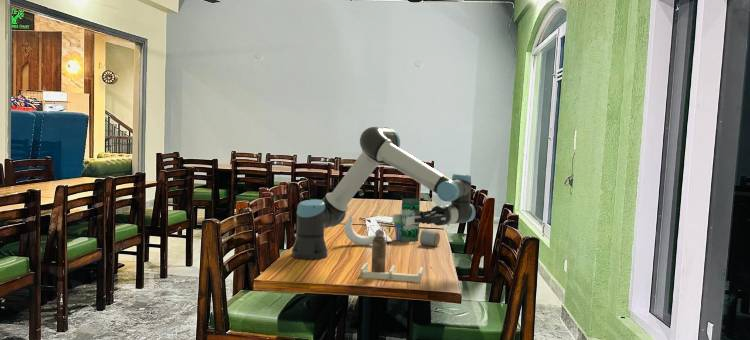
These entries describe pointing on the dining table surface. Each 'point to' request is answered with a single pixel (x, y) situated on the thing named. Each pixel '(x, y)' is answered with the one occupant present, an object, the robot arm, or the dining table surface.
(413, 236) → the can
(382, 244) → the pepper mill
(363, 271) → the caddy
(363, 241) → the white curved horn
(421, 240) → the ceramic mug
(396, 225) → the snack cup
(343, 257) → the dining table surface
